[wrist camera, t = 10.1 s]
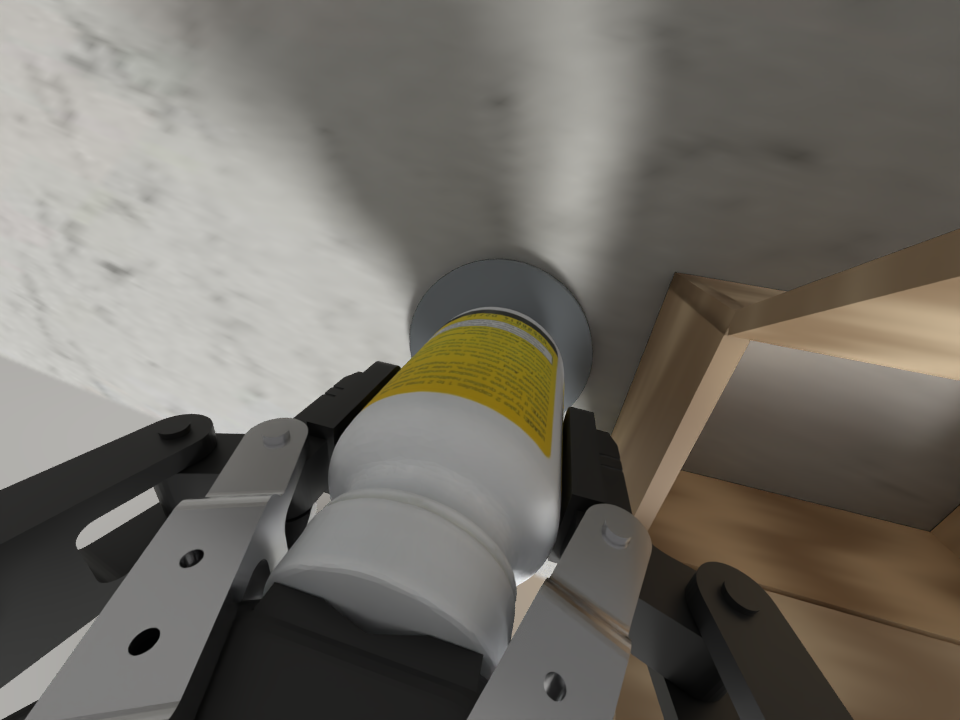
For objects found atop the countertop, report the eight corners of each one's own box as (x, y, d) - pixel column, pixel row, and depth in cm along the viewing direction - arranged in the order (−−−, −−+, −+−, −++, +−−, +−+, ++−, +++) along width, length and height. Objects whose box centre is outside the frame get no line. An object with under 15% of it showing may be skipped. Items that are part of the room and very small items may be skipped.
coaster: (616, 278, 13) (619, 282, 13) (565, 441, 17) (565, 449, 16) (419, 243, 14) (413, 244, 14) (411, 403, 18) (406, 409, 17)
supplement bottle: (413, 319, 14) (152, 524, 5) (548, 288, 12) (505, 518, 3) (454, 430, 16) (314, 718, 7) (575, 417, 14) (591, 776, 5)
